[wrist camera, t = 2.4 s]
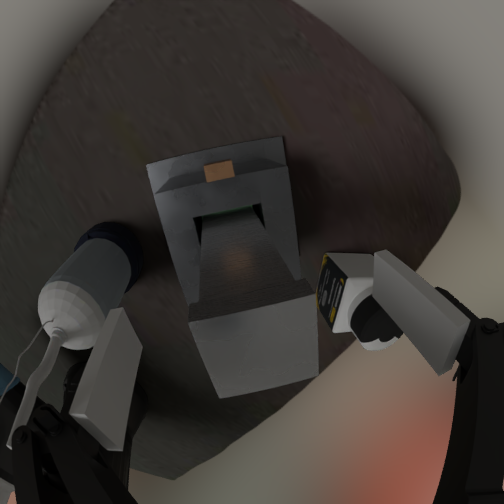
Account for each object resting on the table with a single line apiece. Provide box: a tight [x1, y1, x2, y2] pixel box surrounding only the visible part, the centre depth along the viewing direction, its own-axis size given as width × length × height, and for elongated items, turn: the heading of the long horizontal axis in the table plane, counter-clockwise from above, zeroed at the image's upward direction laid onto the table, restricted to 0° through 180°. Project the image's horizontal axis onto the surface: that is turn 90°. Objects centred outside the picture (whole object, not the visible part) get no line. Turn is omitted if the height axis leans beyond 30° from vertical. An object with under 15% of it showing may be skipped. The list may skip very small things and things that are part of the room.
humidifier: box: [0, 222, 143, 450], centre depth 18 cm, size 8×8×25 cm
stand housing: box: [146, 136, 301, 308], centre depth 26 cm, size 14×14×9 cm
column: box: [188, 205, 319, 399], centre depth 20 cm, size 5×5×21 cm
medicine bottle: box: [316, 253, 404, 351], centre depth 30 cm, size 7×7×12 cm
